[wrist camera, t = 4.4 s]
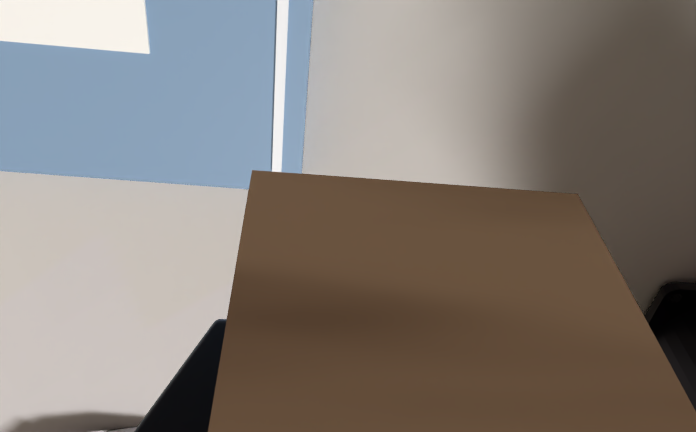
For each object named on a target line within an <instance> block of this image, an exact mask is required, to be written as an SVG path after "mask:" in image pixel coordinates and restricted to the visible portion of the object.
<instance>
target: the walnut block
mask: <svg viewBox="0 0 696 432" xmlns="http://www.w3.org/2000/svg"><path fill="white" fill-rule="evenodd" d="M208 432H696V411H695V409H694V407H693V405H692V404H691V402H690V400H689V398H688V396H687V394H686V393H685V391H684V389H683V387H682V385H681V383H680V381H679V380H678V378H677V376H676V374H675V372H674V370H673V369H672V367H671V365H670V363H669V361H668V359H667V358H666V356H665V354H664V352H663V350H662V348H661V347H660V345H659V343H658V341H657V339H656V337H655V335H654V334H653V332H652V330H651V328H650V326H649V324H648V323H647V321H646V319H645V317H644V315H643V313H642V312H641V310H640V308H639V306H638V304H637V302H636V300H635V299H634V297H633V295H632V293H631V291H630V289H629V288H628V286H627V284H626V282H625V280H624V278H623V277H622V275H621V273H620V271H619V269H618V267H617V265H616V264H615V262H614V260H613V258H612V256H611V254H610V253H609V251H608V249H607V247H606V245H605V243H604V242H603V240H602V238H601V236H600V234H599V232H598V231H597V229H596V227H595V225H594V223H593V221H592V219H591V218H590V216H589V214H588V212H587V210H586V208H585V207H584V205H583V203H582V201H581V199H580V197H579V196H578V194H570V193H556V192H543V191H529V190H516V189H502V188H489V187H475V186H461V185H448V184H434V183H421V182H407V181H394V180H380V179H366V178H353V177H339V176H326V175H312V174H299V173H285V172H271V171H258V170H252V173H251V179H250V185H249V191H248V197H247V203H246V209H245V215H244V221H243V227H242V233H241V239H240V244H239V250H238V256H237V262H236V268H235V274H234V280H233V286H232V292H231V298H230V304H229V310H228V316H227V322H226V327H225V333H224V339H223V345H222V351H221V357H220V363H219V369H218V375H217V381H216V387H215V393H214V399H213V404H212V410H211V416H210V422H209V428H208Z"/></svg>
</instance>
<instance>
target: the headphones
mask: <svg viewBox="0 0 696 432" xmlns="http://www.w3.org/2000/svg"><path fill="white" fill-rule="evenodd" d="M136 428H137V427H132V428H124V429H118V430H112V431H105V432H134V431H135V430H136Z"/></svg>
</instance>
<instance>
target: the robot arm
mask: <svg viewBox="0 0 696 432" xmlns="http://www.w3.org/2000/svg"><path fill="white" fill-rule="evenodd" d="M645 319H646V321H647V323H648V324H649V326H650V328H651V330H652V332H653V334H654V335H655V337H656V339H657V341H658V343H659V345H660V347H661V348H662V350H663V352H664V354H665V356H666V358H667V359H668V361H669V363H670V365H671V367H672V369H673V370H674V372H675V374H676V376H677V378H678V380H679V381H680V383H681V385H682V387H683V389H684V391H685V393H686V394H687V396H688V398H689V400H690V402H691V404H692V405H693V407H694V409H695V411H696V284H694V283H679V282H674V283H669V284H666V285H665V286H663V287H662V288H661V289H660V290H659V292H658V294H657V296H656V297H655V299H654V301H653V303H652V304H651V306H650V308H649V310H648V312H647V313H646V315H645ZM226 322H227V319H218V320H216V321H215V322H214V323H213V324H212V326H211V327H210V328H209V330H208V331H207V333H206V334H205V335H204V337H203V338H202V339H201V341H200V342H199V343H198V345H197V346H196V348H195V349H194V350H193V352H192V353H191V354H190V356H189V357H188V359H187V360H186V361H185V363H184V364H183V365H182V367H181V368H180V369H179V371H178V372H177V374H176V375H175V376H174V378H173V379H172V380H171V382H170V383H169V384H168V386H167V387H166V389H165V390H164V391H163V393H162V394H161V395H160V397H159V398H158V399H157V401H156V402H155V404H154V405H153V406H152V408H151V409H150V410H149V412H148V413H147V414H146V416H145V417H144V419H143V420H142V421H141V423H140V424H139V425H138V427H137V428H136V430H135V431H134V432H208V428H209V422H210V416H211V410H212V404H213V399H214V393H215V387H216V381H217V375H218V369H219V363H220V357H221V351H222V345H223V339H224V333H225V327H226Z"/></svg>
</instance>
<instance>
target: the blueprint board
mask: <svg viewBox="0 0 696 432" xmlns="http://www.w3.org/2000/svg"><path fill="white" fill-rule="evenodd" d="M312 12H313V0H0V171H8V172H21V173H35V174H49V175H62V176H76V177H89V178H103V179H117V180H130V181H144V182H158V183H171V184H185V185H198V186H212V187H226V188H239V189H249V185H250V179H251V173H252V170H258V171H271V172H285V173H299V174H302V161H303V146H304V131H305V117H306V102H307V87H308V72H309V57H310V42H311V27H312Z"/></svg>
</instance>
